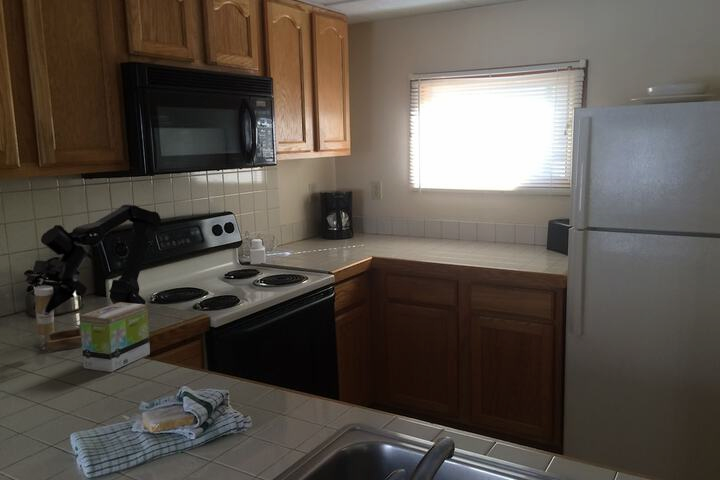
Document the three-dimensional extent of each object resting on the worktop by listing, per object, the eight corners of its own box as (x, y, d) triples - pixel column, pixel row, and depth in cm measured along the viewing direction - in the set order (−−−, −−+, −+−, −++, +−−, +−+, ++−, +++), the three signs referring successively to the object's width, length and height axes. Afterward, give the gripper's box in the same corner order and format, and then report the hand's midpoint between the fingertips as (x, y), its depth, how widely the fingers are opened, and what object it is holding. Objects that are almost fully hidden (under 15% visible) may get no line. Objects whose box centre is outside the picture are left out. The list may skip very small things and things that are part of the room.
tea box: (113, 373, 158) (108, 317, 155) (83, 369, 161) (77, 315, 159) (151, 354, 172) (147, 303, 169) (123, 350, 175) (118, 300, 173)
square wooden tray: (82, 336, 189) (81, 327, 189) (86, 345, 180) (85, 336, 180) (46, 342, 184) (45, 333, 184) (48, 352, 176) (47, 342, 175)
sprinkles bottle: (42, 337, 168) (40, 290, 165) (33, 333, 170) (30, 287, 168) (58, 332, 172) (56, 287, 169) (48, 329, 174) (46, 283, 171)
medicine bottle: (251, 261, 305) (250, 238, 303) (265, 261, 305) (264, 237, 304) (250, 264, 298) (249, 240, 296) (265, 263, 298) (263, 239, 297)
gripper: (26, 246, 174) (-5, 294, 166) (73, 249, 166) (43, 299, 158) (54, 267, 182) (25, 313, 175) (99, 271, 175) (72, 319, 167)
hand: (40, 311), depth 168 cm, fingers closed on sprinkles bottle, 4 cm apart
